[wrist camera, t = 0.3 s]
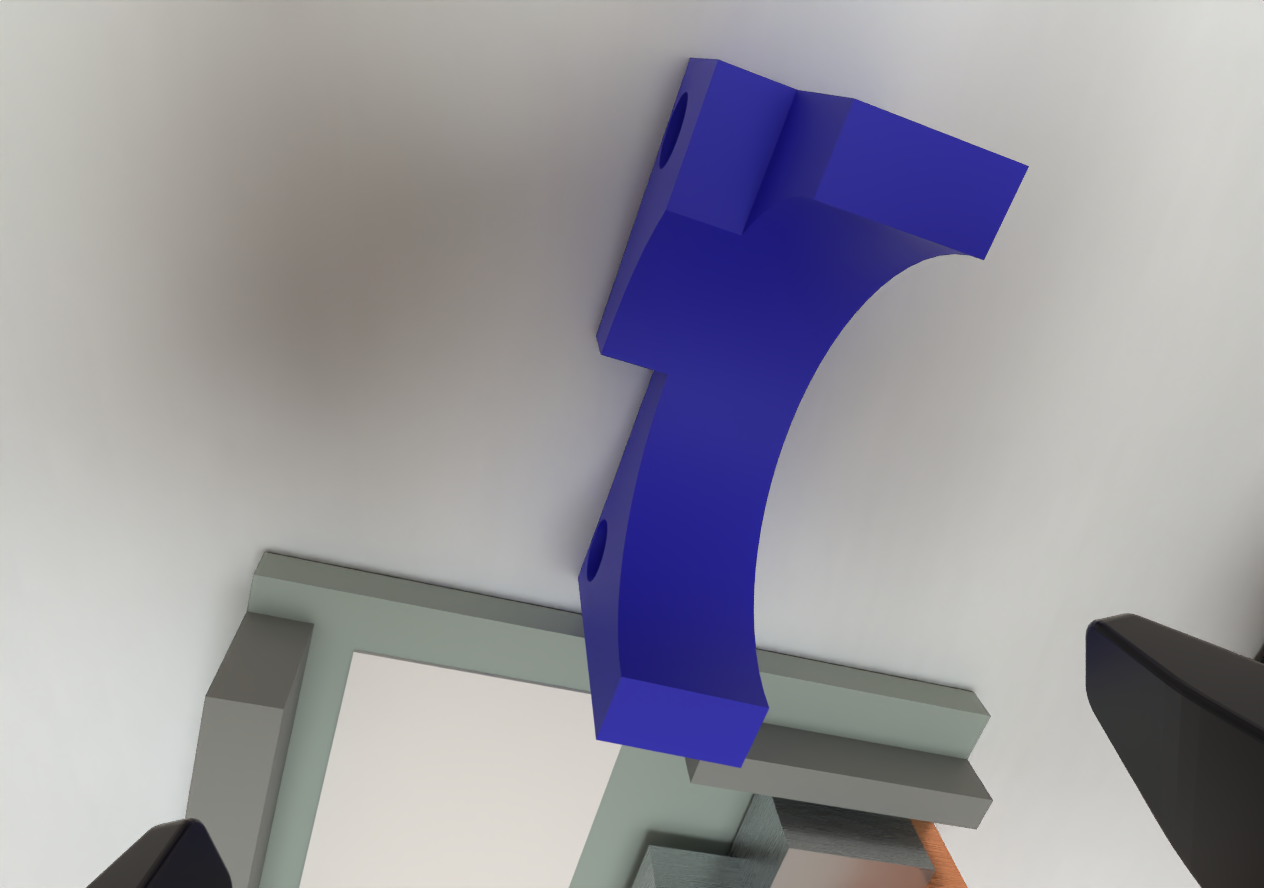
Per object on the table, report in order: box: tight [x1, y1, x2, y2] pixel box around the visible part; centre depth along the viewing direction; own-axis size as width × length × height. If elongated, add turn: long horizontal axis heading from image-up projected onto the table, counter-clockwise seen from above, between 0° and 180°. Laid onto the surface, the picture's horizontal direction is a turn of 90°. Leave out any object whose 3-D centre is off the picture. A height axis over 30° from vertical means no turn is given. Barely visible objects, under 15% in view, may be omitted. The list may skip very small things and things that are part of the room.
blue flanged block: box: [578, 58, 1029, 768], centre depth 18 cm, size 12×4×6 cm, turn 161°
